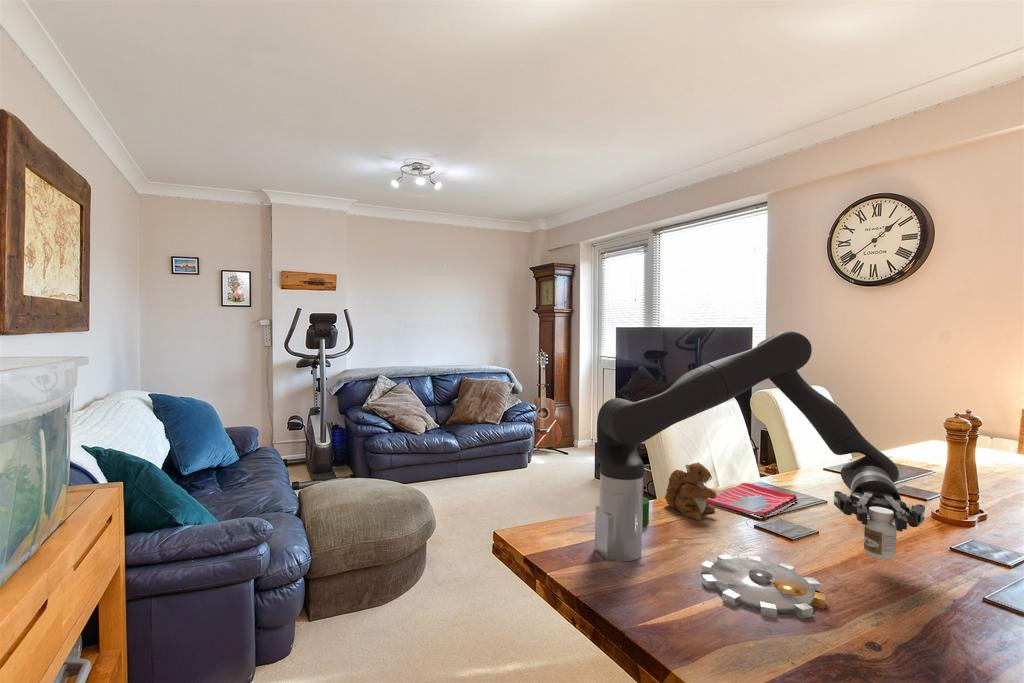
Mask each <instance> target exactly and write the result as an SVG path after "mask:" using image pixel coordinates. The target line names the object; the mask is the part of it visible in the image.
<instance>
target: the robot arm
mask: <svg viewBox="0 0 1024 683" xmlns="http://www.w3.org/2000/svg"><path fill="white" fill-rule="evenodd" d="M812 350H813V348H812V344H811V342H810V341H809V339H808V338H807V337H806V336H805V335H804V334H802V333H800V332H796V331H794V330H793V331H789V330H786V331H781V332H777V333H775V334H773V335H772V336H769V337H767V338H766V339H764V340H762V341H761V342H759V343H758V344H757V345H756V346H755V347H753V348H749V349H747V350H744V351H742V352H739V353H736V354H732V355H729V356H726V357H722V358H720V359H717V360H713V361H711V362H709V363H706V364H703V365H700V366H698V367H696V368H694V369H692V370H690V371H688V372H686V373H684V374H682V375H681V376H680V377H679V378H678V379H676V381H674V382H673V383H672V385H671V386H669V388H667V389H666V390H664V391H662V392H661V393H658V394H656V395H653V396H650V397H648V398H645V399H641V400H639V401H631V400H628V399H625V398H619V397H618V398H617V397H615V398H610V399H609V400H607V401H605V402H604V403H603V404H602V405H601V407H600V409H599V411H598V414H597V421H596V449H597V450H596V454H597V459H598V462H599V468H600V469H599V501H598V502H599V504H598V505H596V506H595V520H594V521H595V523H594V525H595V526H594V550H596V551H597V552H598V553H599V554H600V555H601V556H602V557H603V558H604V559H605V561H618V562H631V561H632V562H633V561H637V560H638V559H640V558H641V557H642V554H643V552H642V551H643V550H642V548H643V542H642V541H643V527H642V518H643V497H644V475H645V474H644V472H645V471H644V470H645V466H644V462H643V460H642V459H641V457H640V455H639V452H638V450H637V445H640V444H642V443H644V442H646V441H648V440H649V439H651V438H653V437H654V436H656V435H658V434H660V433H661V432H663V431H665V430H667V429H668V428H670V427H671V426H673V425H675V424H677V423H679V422H683V421H685V420H687V419H689V418H691V417H692V418H693V417H694V416H697V415H698V414H701V413H703V412H705V411H708V410H710V409H713V408H714V407H717V406H719V405H721V404H724V403H726V402H727V401H729V400H732V399H734V398H735V397H737V396H740V395H741V394H743V393H745V392H746V391H748V390H750V389H752V388H753V387H755V386H756V385H758V384H759V383H761V382H764V381H765V380H770V381H771V382H772V384H774V386H776V387H777V389H778V390H780V392H782V393H783V395H784V396H785V397H786V398H787V399H788V400H789V401H790V402H791V403H792V404H793V405H794V406H795V407H796V408H797V410H799V411H800V412H801V413H802V415H803V416H804V417H805V418H806V419H807V421H808V422H809V423H810V424H811V425H812V427H813V428H814V430H815V431H816V433H817V434H818V435H819V436H820V438H821V439H822V440H823V441H824V443H825V444H826V446H827V447H828V449H829V450H830V451H831V452H832V453H833V454H834V455H836V456H846V455H849V454H854V453H856V454H861V455H864V456H862V457H860V458H857V459H855V460H853V461H851V462H848V463H847V464H845V465H843V466H842V468H841V470H840V477H841V479H842V481H843V483H844V485H846V487H847V488H848V489H849V490H850V495H849V496H848V495H847V494H846V493H843V492H842V491H838V490H835V491H833V492H834V493H833V494H834V495H833V496H834V497H833V505H834V506H835V507H836V508H837V509H838V510H839V511H840V512H842V513H843V515H846V516H853V515H855V517H856V520H857V521H858V522H861V525H864V526H865V525H867V519H870V517H869V507H882V508H886V509H889V510H892V511H893V512H894V519H893V522H892V523H893V524H894V525H895V526H896V529H897V532H903V530H907V529H908V526H910V527H912V528H918V527H919V526H920V525H921V524H922V523H924V521H925V515H926V506H925V505H923V504H918V503H917V504H915V505H914V504H913V505H911V506H908V505H907V504H906V502H904V501H903V500H902V498H901V496H900V493H899V491H898V488H897V486H896V484H895V483H896V482H897V481H898V480H899V477H900V472H899V471H900V470H899V469H898V466H897V465H896V464H895V462H894V461H893V460H891V458H890V457H888V456H887V455H886V454H885V453H883V452H881V451H880V450H879V449H878V448H877V447H875V446H874V445H873V444H872V443H871V442H870V441H868V440H867V439H866V438H865V437H864V436H863V435H862V434H861V432H860V431H859V430H858V428H857V427H856V426H855V425H854V423H853V422H852V420H851V419H850V417H848V415H847V414H846V413H845V412H844V411H843V409H841V408H840V407H839V406H838V405H837V404H836V403H834V401H832V400H830V398H827V397H826V396H824V395H823V394H821V393H820V392H819V391H817V390H816V389H814V387H812V386H811V385H810V384H808V382H807V381H806V380H805V379H804V378H803V377H802V375H800V373H799V372H798V370H800V369H801V368H803V367H804V366H806V364H808V362H809V360H810V358H811V357H812V353H813V352H812Z"/></svg>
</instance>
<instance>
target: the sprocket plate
mask: <svg viewBox="0 0 1024 683" xmlns="http://www.w3.org/2000/svg"><path fill="white" fill-rule="evenodd" d="M700 571H701V573H702V575H701V576H702V578H701V579H702V580H701V582H702V583H701V584H703V586H704V587H705V588H706V589H707V590H716V591H717V592H718V593H720V594H721V595H722V596H721V601H723V602H724V603H726V604H728V605H731V606H733V607H737V606H738V605H741V606H744V607H747V608H751V609H754V610H759V613H760V616H764V617H769V618H774V619H777V616H778V614H794V615H795V616H797V617H799V618H800V619H806V618H812V617H814V607H816V606H817V607H816V608H820V609H823V610H824V609H825V608H826V604H827V594H823V593H821V583H820V582H819V581H818V580H817V579H815V577H807V576H805V577H804V576H803V575H801V574H800V573H798V572H796V567H794V566H792V565H789V564H787V563H785V562H781V563H779V564H777V563H775V562H774V563H773V562H769V561H766V560H762V558H761V557H760V556H757V555H750V554H747V556H746V557H732V556H730V555H728V554H723V555H722V554H720V555H717V558H716V561H715V562H710V561H707V560H705V561H704V562H703V563H702V564H701V570H700ZM815 591H820V592H815ZM813 605H814V606H813Z"/></svg>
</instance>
